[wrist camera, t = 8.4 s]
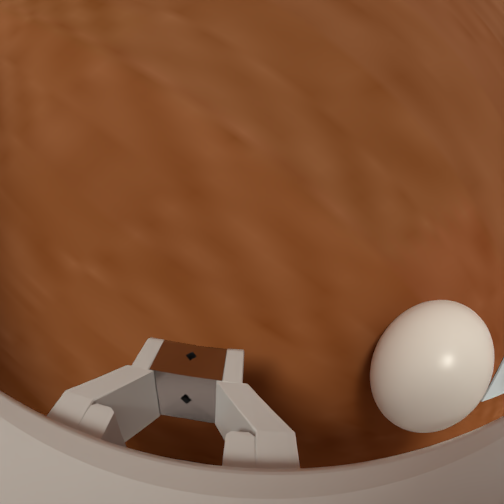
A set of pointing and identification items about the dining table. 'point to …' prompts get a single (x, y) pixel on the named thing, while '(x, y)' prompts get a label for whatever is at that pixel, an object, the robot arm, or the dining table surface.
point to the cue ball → (432, 366)
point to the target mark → (496, 384)
